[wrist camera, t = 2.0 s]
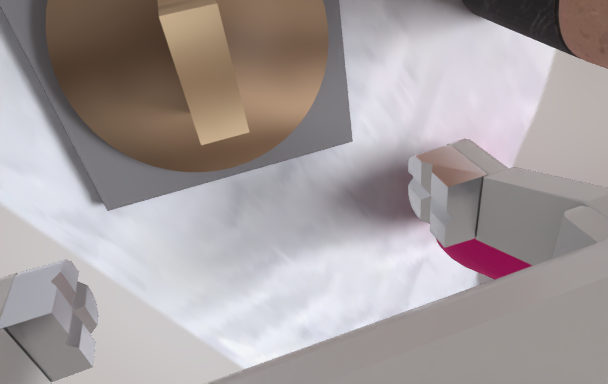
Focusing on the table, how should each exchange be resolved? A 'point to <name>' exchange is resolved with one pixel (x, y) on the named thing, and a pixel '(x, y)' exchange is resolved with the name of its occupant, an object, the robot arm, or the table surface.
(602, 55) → the travel mug
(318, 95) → the mat
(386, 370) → the robot arm
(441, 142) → the table surface
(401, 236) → the table surface
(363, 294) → the table surface
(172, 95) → the lid
